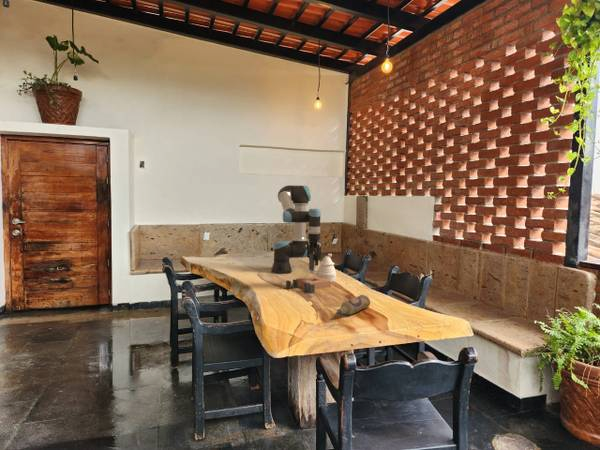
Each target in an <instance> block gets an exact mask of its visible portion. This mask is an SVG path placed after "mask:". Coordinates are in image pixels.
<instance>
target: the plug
mask: <svg viewBox="0 0 600 450" xmlns="http://www.w3.org/2000/svg"><path fill="white" fill-rule="evenodd" d="M314 260H315V257H314V253H313V254H309V258H308V262H309V263H308V270H309V273H310V274H317V272H318V270H315V271H314Z"/></svg>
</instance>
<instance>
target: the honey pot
mask: <svg viewBox="0 0 600 450" xmlns="http://www.w3.org/2000/svg"><path fill="white" fill-rule="evenodd" d="M332 256H333V254H332V253H328V254H327V255H325V256H324V257H323V258H322V259H321V261H320V263H319V264H320V265H319V266H318V270H317V273H316V274H317V275H316V276H318V277H321V278H324V279H327V280H330V281H331V283H333V282H332V281H334V282H336V281H337V271H336V269H335V266H334V265H335V262H333V261H332V258H331V257H332ZM335 280H336V281H335Z"/></svg>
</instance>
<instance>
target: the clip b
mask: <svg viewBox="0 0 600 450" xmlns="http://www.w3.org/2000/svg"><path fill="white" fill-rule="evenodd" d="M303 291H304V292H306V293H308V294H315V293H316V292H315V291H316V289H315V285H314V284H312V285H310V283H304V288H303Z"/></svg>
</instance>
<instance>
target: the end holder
mask: <svg viewBox="0 0 600 450" xmlns="http://www.w3.org/2000/svg"><path fill="white" fill-rule="evenodd" d="M295 280H298V286H299V287H301V288H303V289H304V283H310V285H312V284H314V285H315V290H320V289H327V288H331V287H332V282H331V281H330V280H327V279H324V278H321V277H318V276H317V275H315V276H307V277H299V278H298V277H297V278H295Z"/></svg>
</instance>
